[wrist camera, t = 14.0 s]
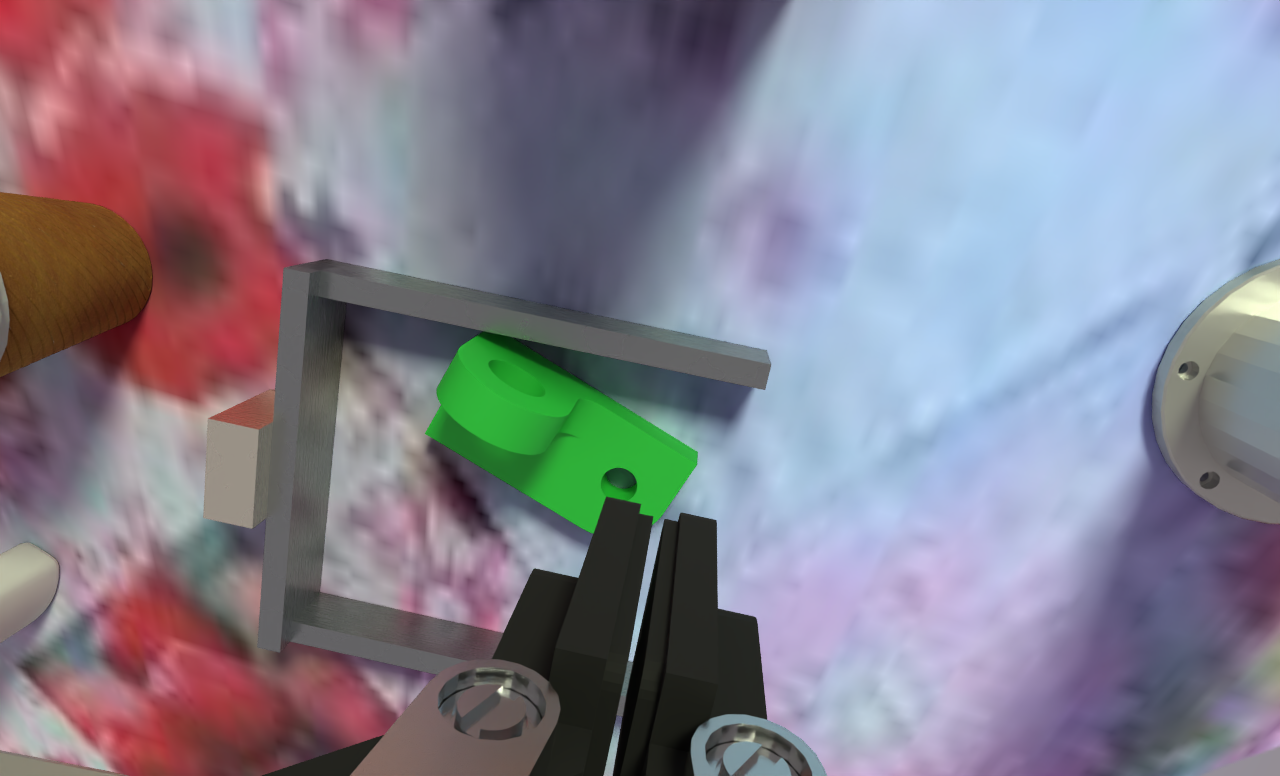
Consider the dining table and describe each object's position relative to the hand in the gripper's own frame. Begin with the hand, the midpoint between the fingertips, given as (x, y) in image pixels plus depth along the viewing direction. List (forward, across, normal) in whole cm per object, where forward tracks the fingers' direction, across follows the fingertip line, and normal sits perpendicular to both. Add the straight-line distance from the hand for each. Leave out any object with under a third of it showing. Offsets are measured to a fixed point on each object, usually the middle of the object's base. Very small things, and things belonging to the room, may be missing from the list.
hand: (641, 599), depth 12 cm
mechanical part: (+28, +5, +8) cm, 29 cm away
